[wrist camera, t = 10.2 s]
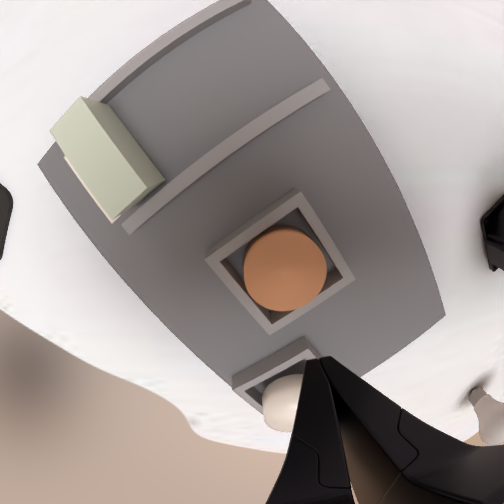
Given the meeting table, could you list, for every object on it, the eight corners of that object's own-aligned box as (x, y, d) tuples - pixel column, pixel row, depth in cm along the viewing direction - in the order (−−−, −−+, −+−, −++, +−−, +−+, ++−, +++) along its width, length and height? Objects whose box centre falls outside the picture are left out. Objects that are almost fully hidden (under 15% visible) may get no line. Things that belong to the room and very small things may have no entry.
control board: (253, 2, 14) (257, -23, 10) (434, 304, 22) (454, 323, 19) (52, 162, 16) (24, 166, 13) (273, 406, 25) (277, 434, 22)
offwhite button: (303, 364, 19) (309, 384, 17) (331, 395, 20) (338, 413, 18) (249, 393, 19) (250, 413, 17) (282, 420, 21) (285, 438, 19)
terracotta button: (291, 209, 17) (298, 217, 15) (330, 268, 18) (340, 281, 16) (227, 254, 17) (226, 267, 15) (270, 307, 19) (274, 324, 17)
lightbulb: (450, 408, 29) (483, 459, 19) (472, 377, 27) (512, 428, 17) (473, 401, 30) (504, 446, 20) (493, 372, 28) (530, 416, 18)
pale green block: (109, 105, 14) (80, 96, 10) (165, 179, 16) (147, 187, 12) (81, 132, 14) (49, 130, 11) (135, 205, 16) (111, 220, 12)
